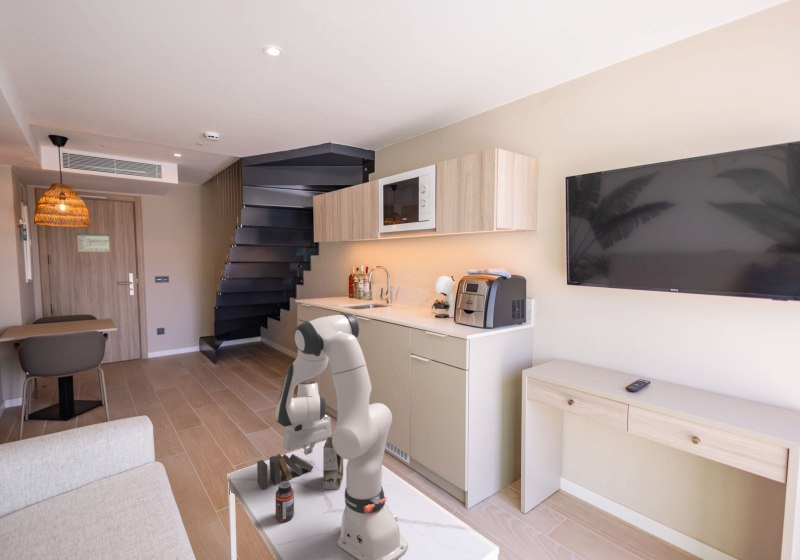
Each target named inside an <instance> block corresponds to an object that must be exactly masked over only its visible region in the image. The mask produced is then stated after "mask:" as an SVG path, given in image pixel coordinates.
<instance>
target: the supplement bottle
mask: <svg viewBox="0 0 800 560" xmlns="http://www.w3.org/2000/svg"><path fill="white" fill-rule="evenodd" d="M277 486H278V487H277V488H278V489H277V490H276V491H275V496H274V497H275V498H274V499H275V520H277V521H278V522H281V523H283V522H284V523H286V522H288V521H290V520H291V519H293V517H294V515H295V491H294V488H293V487H292V484H291V482H290V481H289V480H288V481H287V480H286V481H282V482H281V481H280V484H278V485H277Z"/></svg>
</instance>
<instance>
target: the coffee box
mask: <svg viewBox="0 0 800 560" xmlns="http://www.w3.org/2000/svg"><path fill="white" fill-rule="evenodd" d="M332 437H333V436H332ZM332 437H331V436H330V437H328V438H326V439H325V440H326V441H325V442H324V445H323V447H322V448H323V453H322V454H323V456H322V457H323V459H322V460H323V462H322V464H323V466H322V467H323V479H322V481H323V483H322V484H323V490H340V488H341V485H342V482H343V478H344V459H343V458H342V457H340V456H339V455H338V454H337V453H336V452H335V450H334V448H333V444H332Z"/></svg>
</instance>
